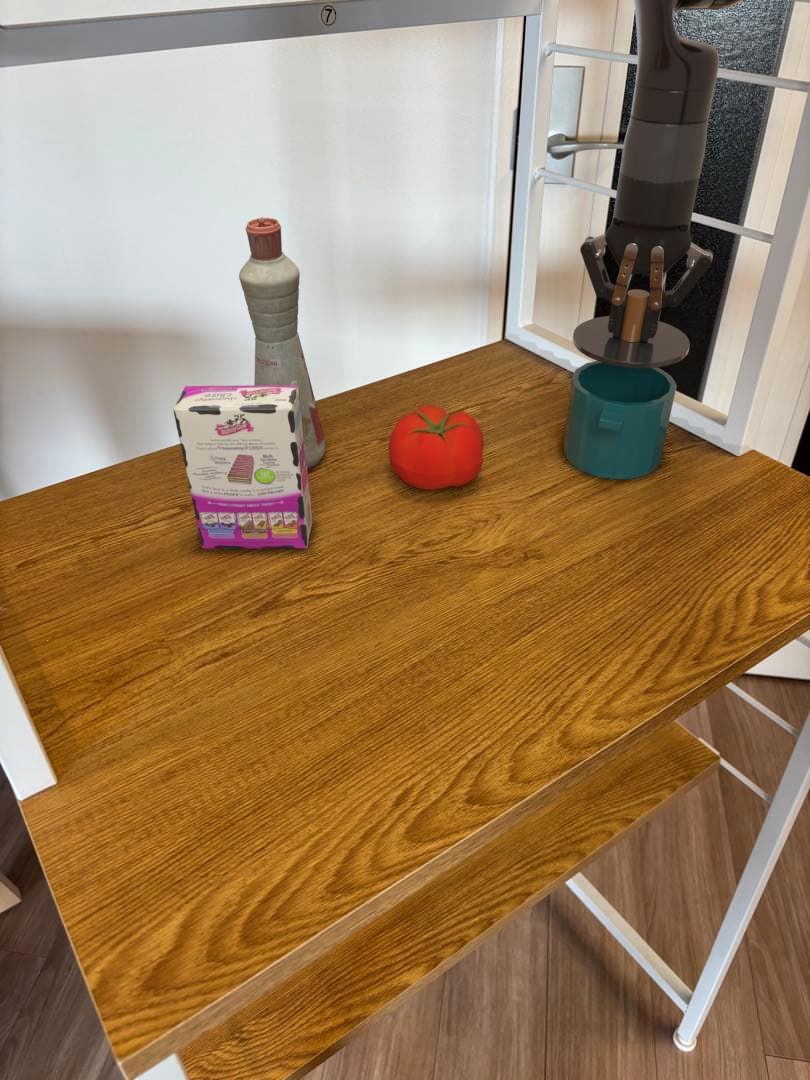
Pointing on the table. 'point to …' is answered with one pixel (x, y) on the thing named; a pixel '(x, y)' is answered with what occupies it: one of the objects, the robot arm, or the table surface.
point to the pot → (617, 419)
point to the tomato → (436, 448)
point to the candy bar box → (246, 465)
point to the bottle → (279, 325)
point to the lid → (631, 338)
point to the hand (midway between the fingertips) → (631, 337)
